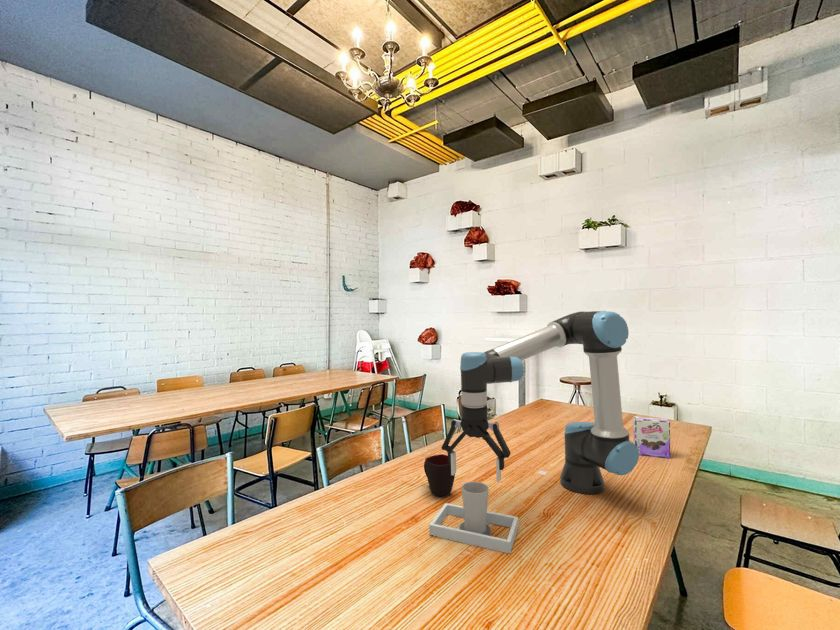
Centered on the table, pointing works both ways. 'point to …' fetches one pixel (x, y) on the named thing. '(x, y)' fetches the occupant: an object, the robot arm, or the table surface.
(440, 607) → the table surface
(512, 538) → the open rectangular frame
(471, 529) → the cup
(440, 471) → the mug
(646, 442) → the candy box
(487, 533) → the pad
